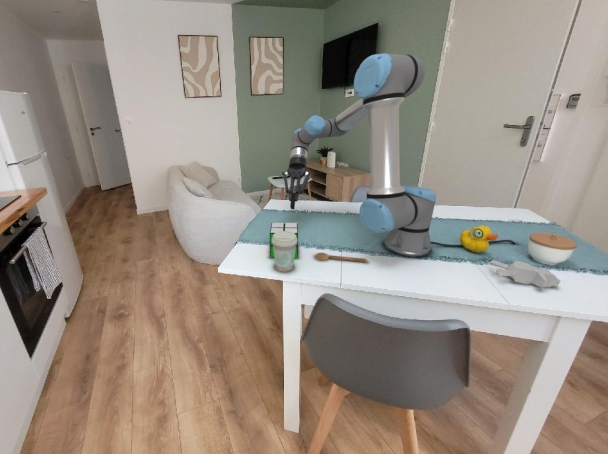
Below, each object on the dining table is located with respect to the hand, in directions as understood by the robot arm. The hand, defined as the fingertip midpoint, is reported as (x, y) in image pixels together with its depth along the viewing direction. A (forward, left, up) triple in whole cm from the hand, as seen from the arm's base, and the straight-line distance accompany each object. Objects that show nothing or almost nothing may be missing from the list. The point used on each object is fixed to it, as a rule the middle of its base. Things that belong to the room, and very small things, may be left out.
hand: (292, 207), depth 122 cm
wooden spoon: (-20, +20, -11) cm, 31 cm away
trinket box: (-85, +7, -12) cm, 86 cm away
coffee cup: (-2, +30, -12) cm, 32 cm away
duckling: (-66, +4, -12) cm, 67 cm away
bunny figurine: (-72, +22, -12) cm, 76 cm away
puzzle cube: (0, +19, -12) cm, 22 cm away
